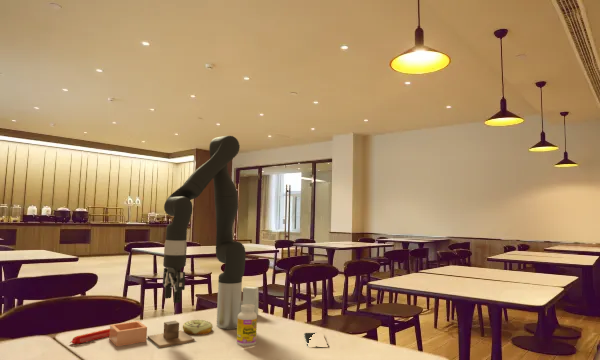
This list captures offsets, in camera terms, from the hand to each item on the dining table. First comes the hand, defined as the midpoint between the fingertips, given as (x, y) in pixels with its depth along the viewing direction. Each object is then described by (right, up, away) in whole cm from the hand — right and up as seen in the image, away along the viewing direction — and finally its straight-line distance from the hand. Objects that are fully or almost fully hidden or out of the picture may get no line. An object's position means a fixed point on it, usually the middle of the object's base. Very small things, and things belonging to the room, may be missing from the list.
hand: (172, 300), depth 138 cm
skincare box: (+23, -18, +36) cm, 46 cm away
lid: (0, -13, -1) cm, 13 cm away
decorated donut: (+6, -15, +10) cm, 19 cm away
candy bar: (-26, -14, -1) cm, 30 cm away
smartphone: (+50, -16, +3) cm, 53 cm away
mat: (0, -14, -1) cm, 14 cm away
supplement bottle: (+26, -15, -2) cm, 30 cm away
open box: (-15, -13, -2) cm, 20 cm away
